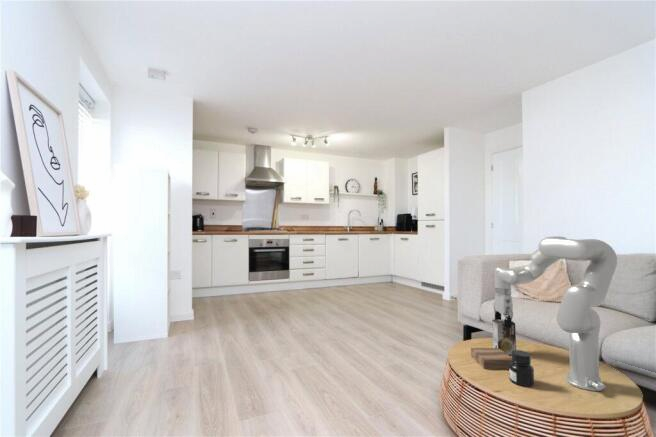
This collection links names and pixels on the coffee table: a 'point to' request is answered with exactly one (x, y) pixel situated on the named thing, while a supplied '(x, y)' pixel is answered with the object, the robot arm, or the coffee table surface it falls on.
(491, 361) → the walnut block
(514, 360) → the ink bottle
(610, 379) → the coffee table surface
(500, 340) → the coffee box
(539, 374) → the coffee table surface
